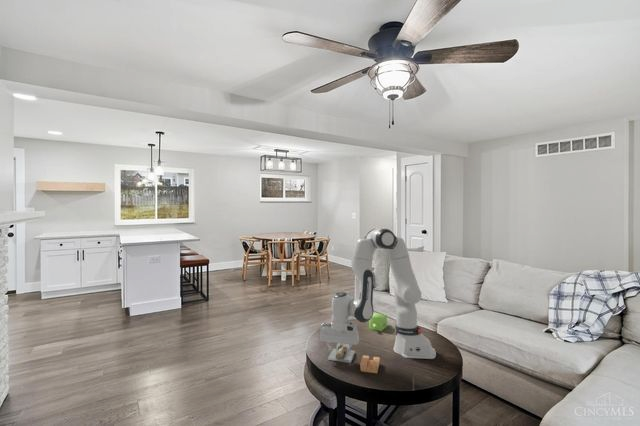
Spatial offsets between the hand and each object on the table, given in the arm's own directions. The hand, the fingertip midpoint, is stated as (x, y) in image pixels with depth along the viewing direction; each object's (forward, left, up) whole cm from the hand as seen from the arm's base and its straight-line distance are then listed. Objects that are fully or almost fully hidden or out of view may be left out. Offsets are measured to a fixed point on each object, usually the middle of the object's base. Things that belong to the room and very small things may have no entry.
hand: (339, 351), depth 168 cm
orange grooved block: (-17, +4, -5) cm, 18 cm away
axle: (-1, -4, -3) cm, 5 cm away
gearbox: (-16, -51, -5) cm, 53 cm away
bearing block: (-1, -7, -5) cm, 9 cm away
